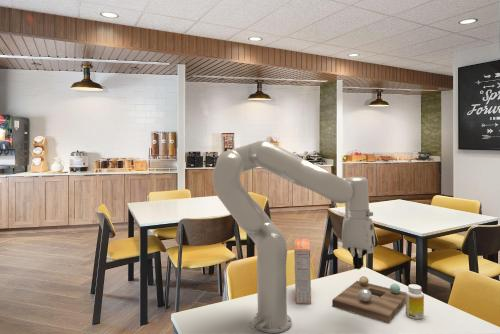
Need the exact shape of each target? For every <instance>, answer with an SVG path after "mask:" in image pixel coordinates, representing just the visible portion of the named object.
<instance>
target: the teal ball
mask: <svg viewBox="0 0 500 334" xmlns="http://www.w3.org/2000/svg"><path fill="white" fill-rule="evenodd" d="M389 288H390V290H391V291H392V292H393V293H399V292H400V291H401V286H400V285H399V284H398V283H392V284H390V287H389Z"/></svg>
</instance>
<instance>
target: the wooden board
mask: <svg viewBox="0 0 500 334" xmlns="http://www.w3.org/2000/svg"><path fill="white" fill-rule="evenodd" d="M362 289H368V290H369V291H370V292H371V294H372V299H371V300H370V301H369V302H363V301H361V300H360V298H359V292H360V290H362ZM331 300H332V301H331V302H332V306H331V307H333V308H337V309H340V310H343V311H347V312H351V313H353V314H357V315H359V316H363V317H365V318H370V319H373V320H377V321H380V322H382V323H386V324H390V322H391V321H392V320H393V319H394V318H395V316H396V315H397V314H398V313H399V312H400V311H401V310H402V308H403V307H404V306H406V291H401V290H400V292H399V293H393V292H392V291H391V290H390V287H386V286H382V285H378V284H373V283H370V282H368V284H367V285H365V286H363V285H361V284H360V282H359V280H356V281H355V282H353V283H352V284H351V285H350V286H348V287H346V288H345V289H344V290H342V292H340V293H339V294H337V295H336V296H335V297H333V299H331Z"/></svg>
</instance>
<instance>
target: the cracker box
mask: <svg viewBox="0 0 500 334" xmlns="http://www.w3.org/2000/svg"><path fill="white" fill-rule="evenodd" d="M293 255H294V258H293V259H294V284H295V285H294V289H295V291H294V292H295V293H294V294H295V304H299V305H301V304H306V305H311V304H312V289H311V288H312V287H311V285H312V283H311V247H310V239H309V238H295V239H294V254H293Z"/></svg>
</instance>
